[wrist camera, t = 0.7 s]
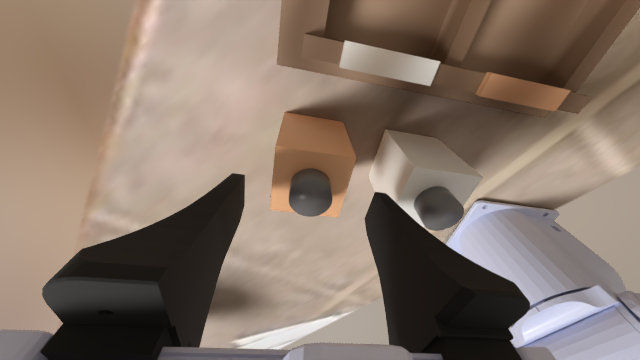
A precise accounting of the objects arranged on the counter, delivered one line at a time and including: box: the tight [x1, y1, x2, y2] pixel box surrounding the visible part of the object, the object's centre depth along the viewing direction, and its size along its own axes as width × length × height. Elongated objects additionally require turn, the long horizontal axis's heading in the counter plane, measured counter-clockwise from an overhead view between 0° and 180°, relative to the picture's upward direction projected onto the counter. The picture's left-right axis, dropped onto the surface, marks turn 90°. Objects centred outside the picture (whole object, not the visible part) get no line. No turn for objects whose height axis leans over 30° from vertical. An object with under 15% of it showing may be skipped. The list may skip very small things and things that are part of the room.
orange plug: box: [270, 112, 356, 217], centre depth 16 cm, size 4×4×7 cm
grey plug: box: [369, 129, 483, 231], centre depth 17 cm, size 4×4×7 cm
